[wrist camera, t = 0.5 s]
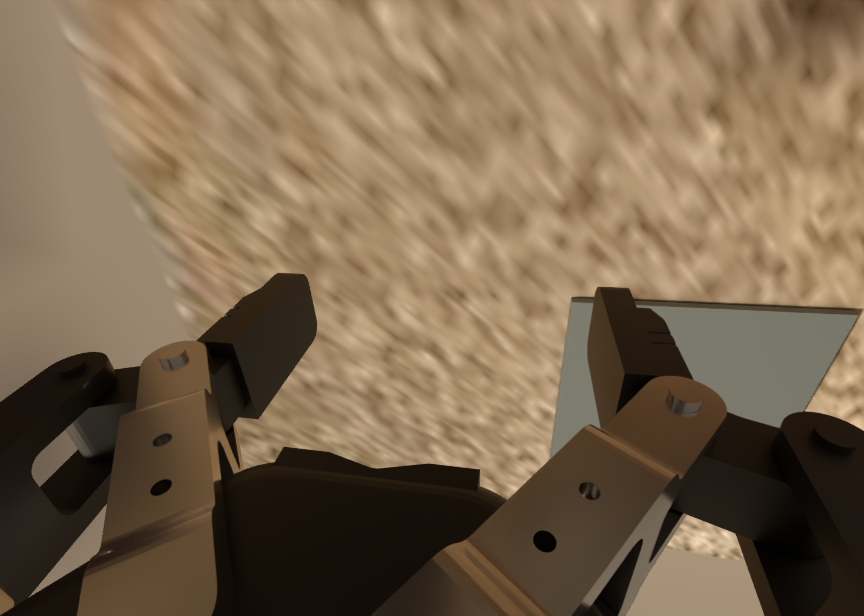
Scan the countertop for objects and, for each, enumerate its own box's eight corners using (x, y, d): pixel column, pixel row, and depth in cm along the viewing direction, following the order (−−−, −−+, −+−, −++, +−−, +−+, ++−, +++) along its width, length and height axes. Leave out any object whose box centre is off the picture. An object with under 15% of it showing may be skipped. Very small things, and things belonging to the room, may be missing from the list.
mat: (571, 297, 33) (571, 302, 32) (853, 310, 30) (858, 315, 29) (548, 468, 44) (548, 473, 43) (751, 491, 41) (753, 497, 40)
